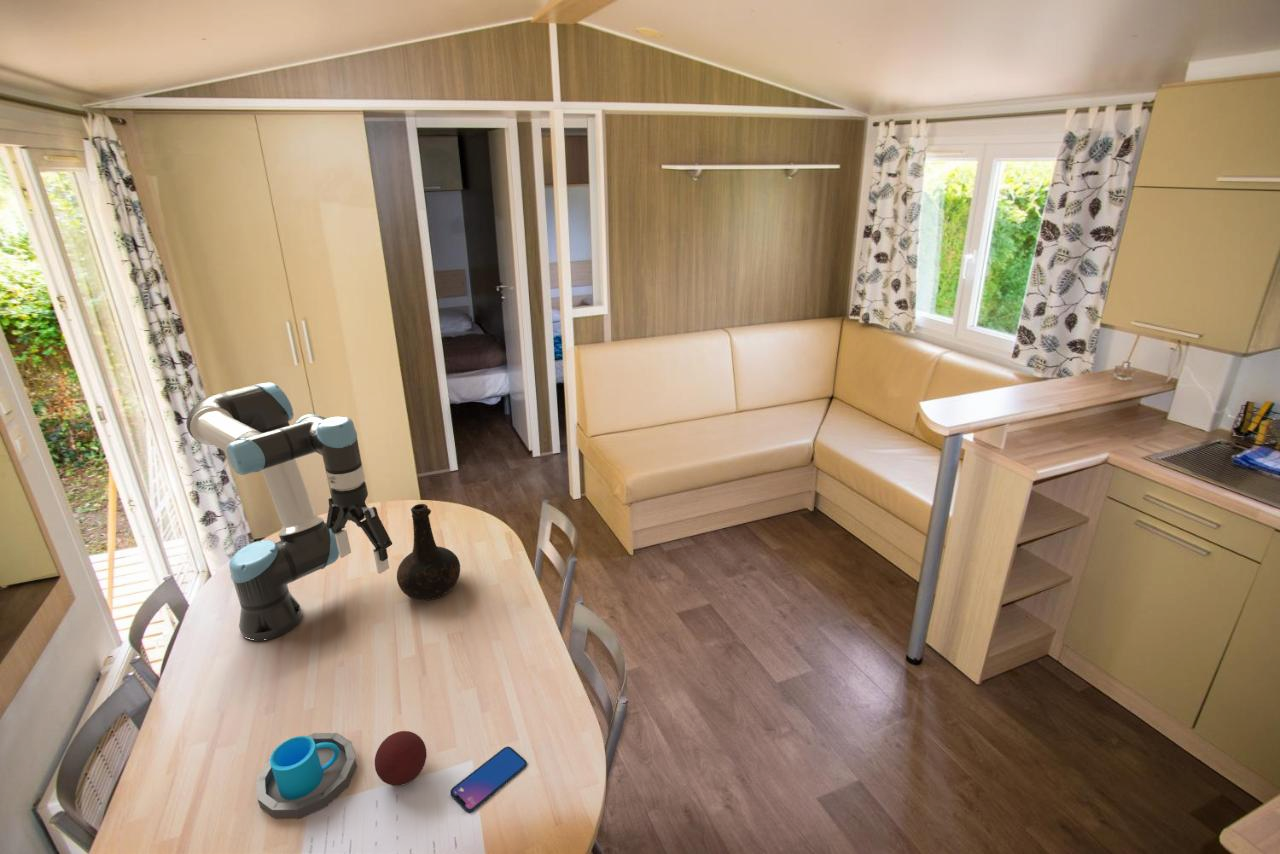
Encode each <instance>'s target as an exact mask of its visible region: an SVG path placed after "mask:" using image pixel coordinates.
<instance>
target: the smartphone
mask: <svg viewBox="0 0 1280 854" xmlns="http://www.w3.org/2000/svg"><path fill="white" fill-rule="evenodd" d="M527 766H528V762H527V760H526V759H525V758H524V757H523V756H522V755H520V754H519V753H518V752H517V751H516V750H515V749H514V748H513V747H511V746H505V747H503V748H502V749H501V750H499V751H498V752H497V753H496V754H494V755H493V756H491V758H489V759H488V760H486V761H485V762H484V763H482V764H481V765H480V766H479V767H477V769H475V770H473V771H472V772H471V773H469V775H467V776H466V777H465V778H463V779H462V780H461V781H459V782H458V783H457V784H456V785H454V786H453V787H452V788H451V789H450V797H452V799H453V800H454V801H456V803H457V804H458V805H459V806H460V807H461V808H462V809H463V811H465V812H466V813H468V814H471V813H473V812H475V811H476V810H477V809H478V808H479V807H481V806H482V805H483V804H485V802H487V801H488V800H489V799H491V798H492V797H494V795H496V793H498V791H500V790H501V789H502V788H504V787H505V784H506V783H507V784H508V783H509V782H511V781H512V780H513V779H514V778H516V776H518V775H519V774H520V773H521V772H522V771H524V770H525V768H526V767H527ZM518 773H519V774H518ZM512 778H513V779H512ZM507 784H506V785H507Z"/></svg>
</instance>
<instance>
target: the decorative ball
mask: <svg viewBox="0 0 1280 854" xmlns="http://www.w3.org/2000/svg"><path fill="white" fill-rule="evenodd" d="M374 757H375V758H374V768H375V772H376V774H377V776H378V778H379V779H380V781H382V782H383V783H385V784H387V785H390V786H393V787H398V786H399V787H400V786H405V785H407V784H409V783H411V782H412V781H414V780H415V779H416V778H417V777H418V776H419V775H420V774H421V772H422V771H423V769H424V767H425V765H426V761H427V757H428V756H427V747H426V744H425V741H424V740H423V738H422V737H421V736H420V735H418V734H417V733H415V732H412V731H409V730H408V731H407V730H401V731H396V732H393V733H392V734H389V736H386V738H385V739H384V740H382V742H381V743H380V744H379V746H378V748H377V750H376V753H375V756H374Z"/></svg>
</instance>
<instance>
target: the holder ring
mask: <svg viewBox="0 0 1280 854" xmlns="http://www.w3.org/2000/svg"><path fill="white" fill-rule="evenodd" d="M307 736H308V737H310V738H312V739H313V740H314V742H315V744H318V743H323V742H329V743H333V744H335V745H337V747H338V748H339V756H338V758H337V760H336V761H335V762H334V763H333V764H332V765H331V766H330V767H329V768H328V769H326V770H325V771H323V778H322V781H321V783H320V784H319V786H318V787H317V788H316V789H315V790H314V791H313V792H312V793H310V794H308V795H307V796H305V797H302V798H299V799H295V800H288V799H284V798H283V797H282V796H281V795H280V793H279V790H278V787H277V784H276V780H275V777H274V774H273V771H272V768H271V765H270V758H269V759H268V760H267V762H266V764H265V765H264V766H263V769H262V771H260V773H259V775H258V776H257V778H256V780H255V781H256V782H255V783H256V799H257V802H258V806H259V808H260V809H261V810H263V811H264V812H265V813H267V814H268V815H270V816H271V817H272V818H273V819H274V820H285V819H288V820H289V819H293V820H294V819H302V818H304V817H307V816H308V815H311V814H314V813H316V812H317V811H320V810H322V809H324V808H327V807H328V806H329V805H330V804H332V803H333V802H334V801H335V800H337V798H338V797H339V796H340V795H341V794H343V792H345V791H346V790H347V789H348V788H349V786H350V784H351V781H352V779H353V777H354V775H355V772H356V770H357V768H358V765H357V764H358V763H357V760H356V759H357V758H356V755H355V750H354V747H353V741H351V740H350V739H348V738H346V737H345V736H343V735H342V734H340V733H338V732H315V733H314V732H313V733H311V734H309V735H307ZM317 752H318V756H319V759H320V763H321V766H323V765H325V764H326V763H327V762H329V761H330V760H331V758H332V757H333V755H334V750H333V749H331V748H319V749H317Z"/></svg>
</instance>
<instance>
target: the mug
mask: <svg viewBox="0 0 1280 854" xmlns="http://www.w3.org/2000/svg"><path fill="white" fill-rule="evenodd" d="M308 736H309V735H298V736H297V735H296V736H294V737H289V738H288V739H287V740H285V741H283V742H281V743H280V744H279V745H277V747H276V748H274V750H273V751H272V753H271V755H270V757H269V759H270V765H271V768H272V771H273V774H274V777H275V780H276V784H277V787H278V790H279V793H280V795H281V796H282V797H283V798H284V799H288V800H295V799H299V798H302V797H305V796H307V795H308V794H310V793H312V792H313V791H314V790H315V789H316V788H317V787H318V786H319V784H320V783H321V781H322V778H323V771H325V770H326V769H328V768H329V767H330V766H331V765H332V764H333V763H334V762H335V761H336V760H337V758H338V756H339V748H338V747H337V745H335V744H333V743H329V742H323V743H318V744H315V742H314V740H313V739H312V738H310V737H308ZM319 748H331V749H333V750H334V755H333V757H332V758H331V760H330V761H329V762H327V763H326V764H325V765H323V766H321V763H320V759H319V756H318V752H317V749H319Z"/></svg>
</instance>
